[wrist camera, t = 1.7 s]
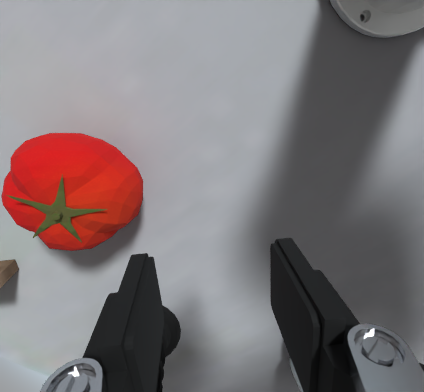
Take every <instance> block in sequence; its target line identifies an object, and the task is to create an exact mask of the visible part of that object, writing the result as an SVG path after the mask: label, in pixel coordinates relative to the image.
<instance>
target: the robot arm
mask: <svg viewBox="0 0 424 392" xmlns="http://www.w3.org/2000/svg"><path fill="white" fill-rule="evenodd" d="M330 2H331V4H332V6H333V8H334V9H335V11H336V12H337V13H338V15H339V16H340V18H341V19H342V20H343V21H344V22H346V23H347V24H348V25H349V26H350V27H351V28H353V29H355V30H356V31H358V32H360V33H362V34H365V35H369V36H372V37H381V38H390V37H395V36H400V35H404V34H407V33H411V32H414V31H417V30H419V29H421V28H423V27H424V0H330ZM360 16H361V20H360ZM270 252H271V306H272V310H273V313H274V315H275V318H276V321H277V323H278V326H279V329H280V331H281V334H282V337H283V339H284V342H285V344H286V347H287V350H288V352H289V355H290V358H291V360H292V363H293V366H294V368H295V371H296V374H297V376H298V379H299V382H300V384H301V387H302V389H303V392H424V365H423V364H421V363H419V362H418V361H417V359H416V358H415V356H414V354H413V352H412V351H411V349H410V348H409V346H408V345H407V344H406V342H405V341H404V340H403V339H402V338H400V337H399V336H398V335H397V334H395V333H394V332H392V331H390V330H388V329H387V328H384V327H381V326H378V325H373V324H360V323H359V322H358V321H357V319H356V318H355V316H354V315H353V314H352V312H351V311H350V310H349V308H348V307H347V306H346V304H345V303H344V301H343V300H342V299H341V297H340V296H339V295H338V293H337V292H336V291H335V289H334V288H333V286H332V285H331V284H330V282H329V281H328V280H327V278H326V277H325V276H324V274H323V273H322V272H321V271H319V270H313V269H312V267H311V266H310V264H309V263H308V261H307V260H306V258H305V257H304V256H303V254H302V253H301V251H300V250H299V248H298V247H297V245H296V244H295V243H294V241H293V240H292V239H291V238H285V239H276V240H275V243H274V244H271V248H270ZM163 326H164V312H163V307H162V301H161V296H160V290H159V285H158V279H157V274H156V268H155V262H154V258H153V257H148V254H147V253H145V254H136V255H131V257H130V260H129V263H128V266H127V268H126V271H125V274H124V277H123V280H122V282H121V285H120V288H119V291H118V293H110V294H109V295H108V297H107V299H106V301H105V304H104V306H103V309H102V311H101V314H100V316H99V319H98V321H97V324H96V326H95V329H94V331H93V333H92V336H91V338H90V341H89V343H88V346H87V348H86V351H85V353H84V356H83V358H81V359H75V360H73V361H71V362H68V363H66V364H65V365H63V366H62V367H60V368H58V369H57V370H56V371H55V372H54V373H53V374H52V375H51V376H50V377H49V378H48V379H47V381H46V382H45V383H44V385H43V386H42V389H41V391H40V392H156V387H157V378H158V370H159V361H160V352H161V343H162V335H163Z"/></svg>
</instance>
